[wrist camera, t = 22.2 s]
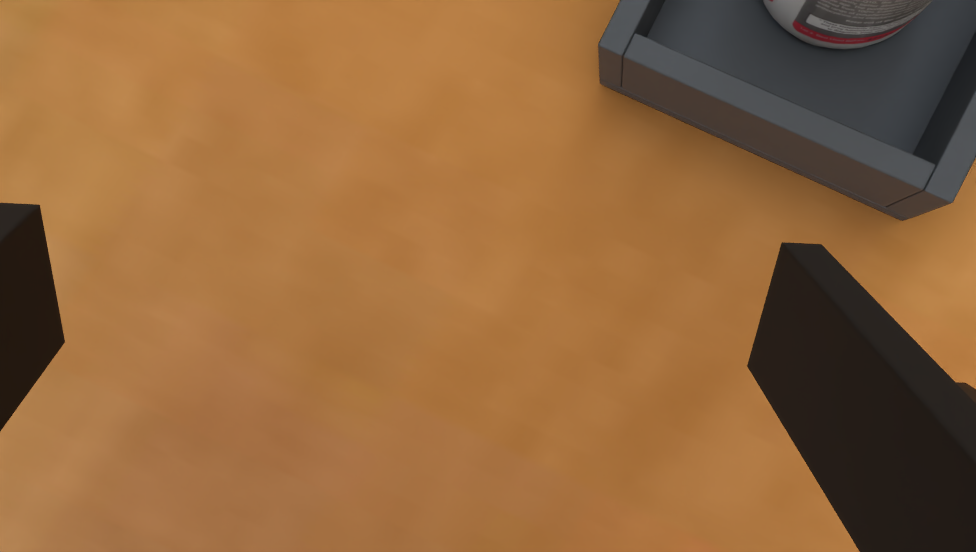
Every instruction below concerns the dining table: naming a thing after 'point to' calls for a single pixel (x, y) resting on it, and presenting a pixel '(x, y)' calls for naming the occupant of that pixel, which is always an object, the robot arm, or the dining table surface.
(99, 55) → the dining table surface
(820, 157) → the grey bin
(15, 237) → the robot arm
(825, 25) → the pill bottle
